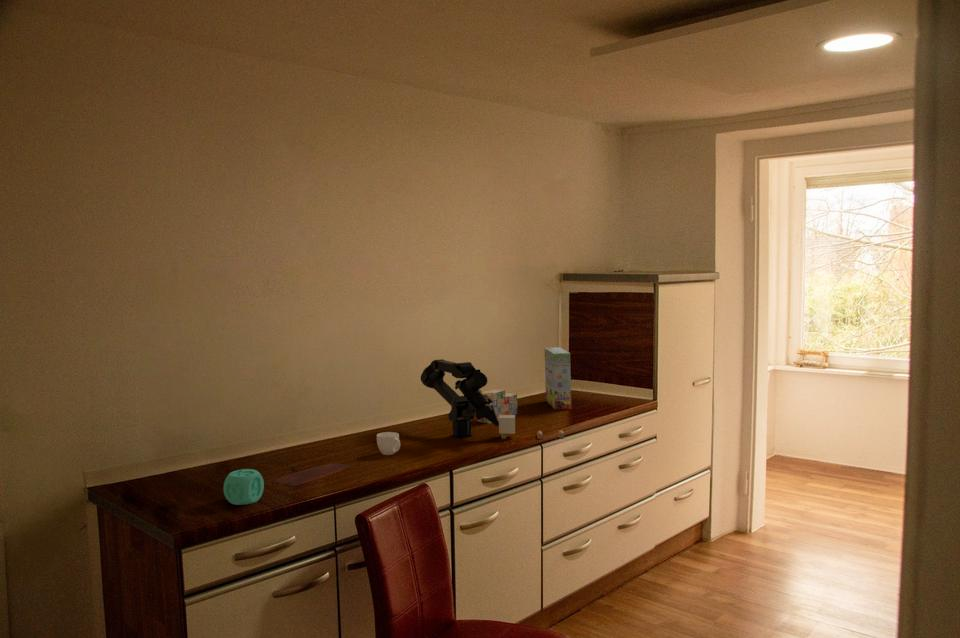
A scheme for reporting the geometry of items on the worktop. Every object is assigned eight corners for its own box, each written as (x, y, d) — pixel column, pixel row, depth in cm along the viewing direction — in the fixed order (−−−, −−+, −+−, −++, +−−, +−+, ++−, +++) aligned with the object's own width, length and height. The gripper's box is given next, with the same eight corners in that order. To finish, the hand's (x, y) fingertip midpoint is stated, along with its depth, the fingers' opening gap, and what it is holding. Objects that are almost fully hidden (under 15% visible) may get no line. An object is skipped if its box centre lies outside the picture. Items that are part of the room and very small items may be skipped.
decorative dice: (240, 495, 215) (239, 468, 214) (264, 497, 213) (263, 470, 212) (223, 503, 207) (222, 475, 207) (248, 506, 205) (247, 477, 204)
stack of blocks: (505, 413, 327) (505, 385, 326) (517, 415, 323) (517, 387, 322) (476, 422, 310) (476, 392, 309) (488, 424, 306) (488, 394, 305)
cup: (389, 449, 265) (389, 430, 265) (408, 454, 259) (407, 435, 258) (372, 453, 260) (372, 434, 259) (391, 458, 253) (390, 439, 252)
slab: (499, 433, 280) (498, 417, 279) (499, 430, 285) (499, 415, 284) (515, 433, 279) (515, 417, 279) (515, 430, 284) (514, 415, 284)
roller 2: (562, 440, 278) (565, 435, 278) (557, 437, 278) (561, 432, 278) (561, 436, 284) (564, 432, 284) (557, 433, 284) (560, 429, 284)
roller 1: (503, 440, 279) (507, 437, 279) (500, 436, 279) (504, 433, 279) (503, 437, 285) (507, 434, 285) (500, 432, 285) (505, 429, 285)
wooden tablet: (294, 489, 222) (294, 484, 222) (271, 484, 227) (271, 479, 227) (355, 468, 244) (355, 463, 244) (333, 463, 249) (332, 458, 249)
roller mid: (540, 440, 279) (543, 437, 278) (536, 436, 279) (540, 433, 278) (539, 437, 284) (543, 433, 284) (535, 433, 284) (539, 429, 284)
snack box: (543, 401, 354) (543, 347, 352) (561, 400, 355) (561, 347, 353) (553, 410, 333) (553, 352, 331) (572, 409, 334) (572, 352, 332)
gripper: (457, 401, 290) (482, 432, 290) (453, 411, 271) (480, 444, 272) (479, 384, 289) (504, 415, 289) (477, 392, 270) (504, 425, 271)
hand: (498, 425), depth 280 cm, fingers closed
